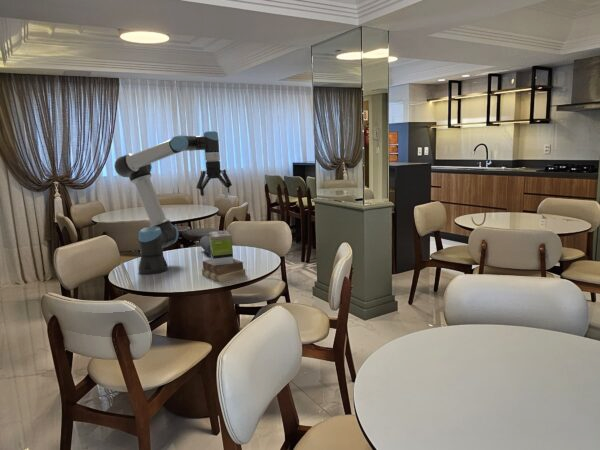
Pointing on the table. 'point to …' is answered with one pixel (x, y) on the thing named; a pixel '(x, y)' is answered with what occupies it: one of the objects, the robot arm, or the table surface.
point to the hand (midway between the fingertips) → (215, 200)
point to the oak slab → (223, 275)
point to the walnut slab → (222, 267)
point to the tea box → (221, 247)
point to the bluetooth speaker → (205, 244)
